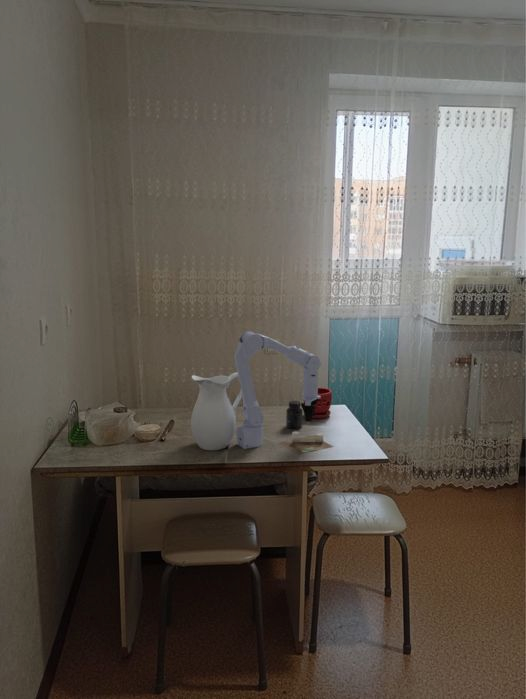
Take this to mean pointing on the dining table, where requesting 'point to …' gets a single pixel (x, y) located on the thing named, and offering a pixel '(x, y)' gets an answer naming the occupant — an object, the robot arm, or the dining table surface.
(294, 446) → the brown wooden board
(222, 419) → the pitcher
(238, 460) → the dining table surface
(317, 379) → the robot arm
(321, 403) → the plant pot
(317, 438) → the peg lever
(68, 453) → the dining table surface
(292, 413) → the supplement bottle
